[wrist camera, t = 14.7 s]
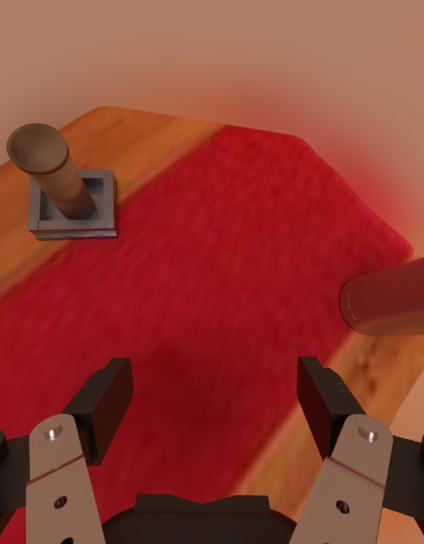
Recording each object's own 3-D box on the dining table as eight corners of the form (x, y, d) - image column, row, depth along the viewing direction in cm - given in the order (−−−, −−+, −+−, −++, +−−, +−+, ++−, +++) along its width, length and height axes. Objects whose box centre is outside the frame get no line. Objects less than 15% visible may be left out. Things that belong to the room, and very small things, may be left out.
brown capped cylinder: (97, 190, 37) (66, 124, 25) (97, 223, 36) (65, 170, 24) (58, 190, 36) (8, 122, 24) (57, 224, 35) (4, 169, 23)
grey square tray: (116, 180, 39) (112, 168, 36) (117, 238, 37) (113, 230, 34) (41, 180, 37) (31, 167, 34) (39, 240, 35) (28, 232, 32)
